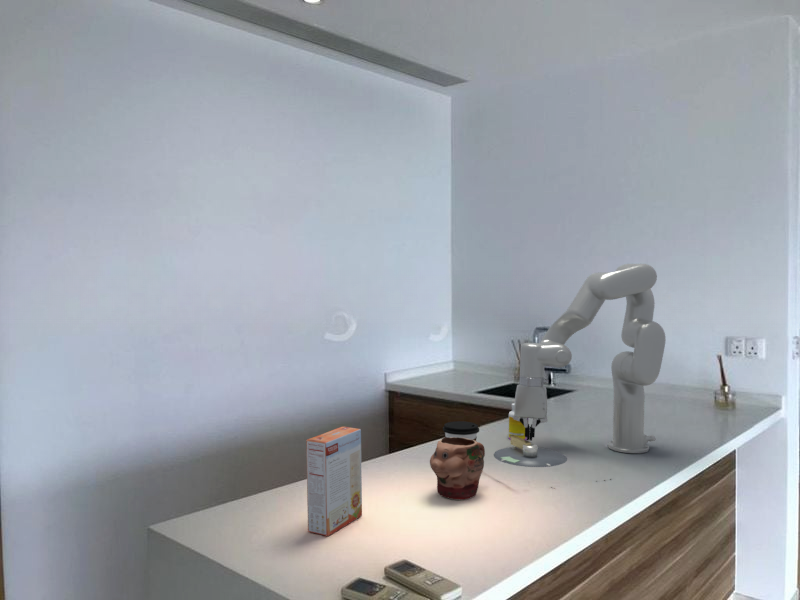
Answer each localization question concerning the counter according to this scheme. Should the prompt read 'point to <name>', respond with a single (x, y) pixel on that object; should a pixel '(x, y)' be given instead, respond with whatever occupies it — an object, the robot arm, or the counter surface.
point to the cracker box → (334, 480)
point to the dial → (542, 460)
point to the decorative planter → (458, 467)
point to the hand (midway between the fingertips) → (529, 439)
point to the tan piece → (524, 446)
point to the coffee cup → (461, 430)
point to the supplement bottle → (515, 426)
